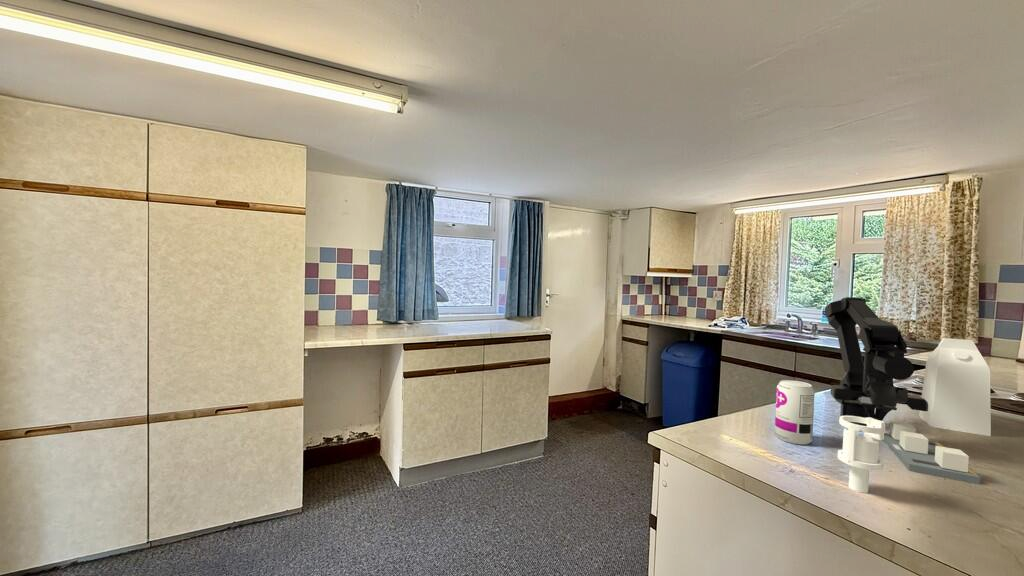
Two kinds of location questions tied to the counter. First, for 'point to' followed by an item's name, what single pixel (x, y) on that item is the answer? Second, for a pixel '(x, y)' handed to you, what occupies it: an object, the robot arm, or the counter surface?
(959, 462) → the near tab
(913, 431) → the cream cube
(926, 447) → the middle tab
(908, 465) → the switch bank
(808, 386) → the supplement can
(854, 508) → the counter surface
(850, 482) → the white cylindrical holder
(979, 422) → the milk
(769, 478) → the counter surface
